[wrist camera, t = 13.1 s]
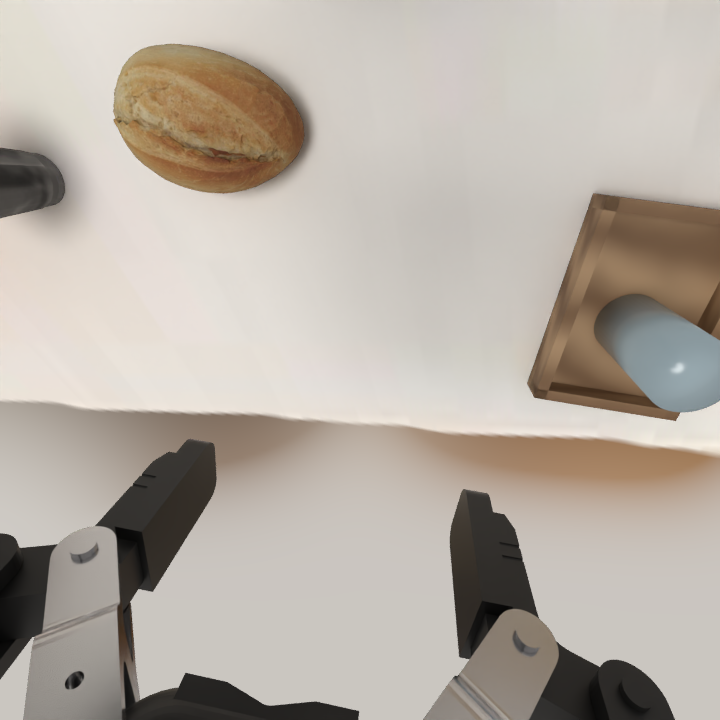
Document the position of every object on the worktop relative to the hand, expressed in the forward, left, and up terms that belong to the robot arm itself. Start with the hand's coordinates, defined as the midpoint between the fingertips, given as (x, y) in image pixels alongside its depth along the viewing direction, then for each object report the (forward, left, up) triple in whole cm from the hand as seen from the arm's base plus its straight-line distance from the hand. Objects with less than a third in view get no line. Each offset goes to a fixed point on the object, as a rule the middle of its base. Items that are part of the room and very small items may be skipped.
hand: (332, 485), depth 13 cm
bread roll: (-10, -16, -28) cm, 34 cm away
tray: (0, +22, -28) cm, 36 cm away
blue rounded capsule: (+1, +22, -27) cm, 35 cm away
